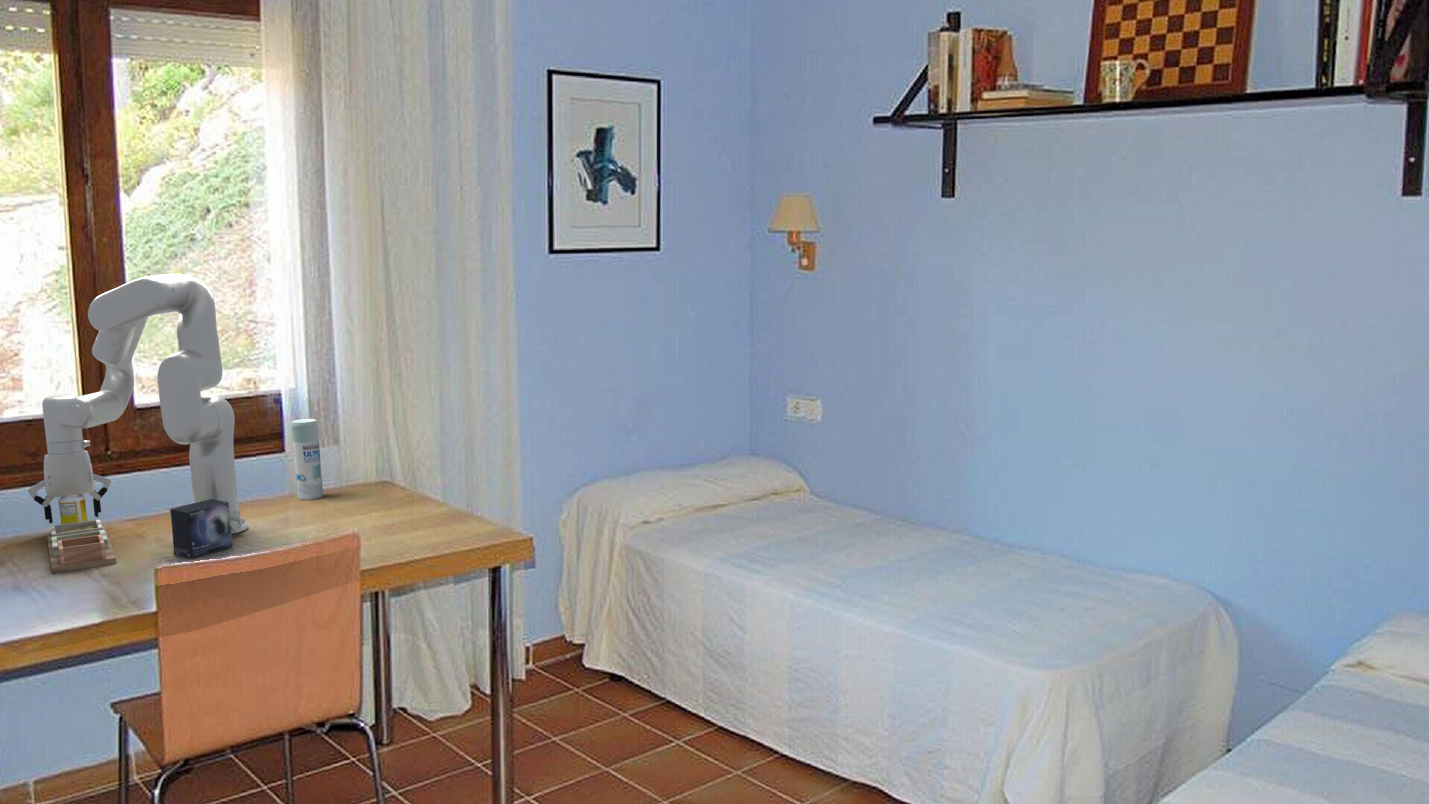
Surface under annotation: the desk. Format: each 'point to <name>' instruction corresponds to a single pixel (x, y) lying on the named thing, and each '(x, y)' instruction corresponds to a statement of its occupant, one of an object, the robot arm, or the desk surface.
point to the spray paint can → (307, 458)
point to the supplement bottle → (72, 509)
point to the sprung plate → (76, 529)
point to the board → (79, 547)
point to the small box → (201, 528)
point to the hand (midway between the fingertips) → (73, 519)
